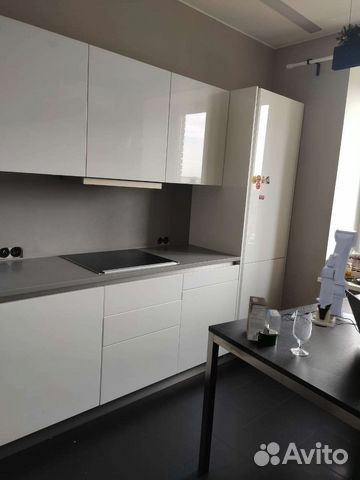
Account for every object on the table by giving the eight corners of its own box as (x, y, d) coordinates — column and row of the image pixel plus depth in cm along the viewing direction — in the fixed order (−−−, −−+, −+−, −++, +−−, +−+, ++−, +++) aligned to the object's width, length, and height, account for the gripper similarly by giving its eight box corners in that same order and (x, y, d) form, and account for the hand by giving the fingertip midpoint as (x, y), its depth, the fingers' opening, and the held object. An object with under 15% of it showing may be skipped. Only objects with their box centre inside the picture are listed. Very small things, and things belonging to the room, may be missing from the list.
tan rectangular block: (316, 319, 176) (317, 308, 175) (329, 322, 173) (330, 311, 172) (315, 321, 174) (316, 309, 173) (328, 324, 171) (330, 312, 170)
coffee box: (245, 330, 157) (249, 295, 154) (260, 332, 157) (264, 297, 154) (247, 339, 148) (251, 302, 145) (262, 341, 148) (267, 304, 145)
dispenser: (312, 317, 179) (313, 311, 178) (335, 322, 174) (336, 317, 173) (309, 321, 173) (310, 315, 173) (333, 327, 168) (334, 321, 167)
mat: (294, 312, 184) (294, 311, 184) (312, 316, 180) (313, 316, 180) (290, 317, 176) (290, 317, 176) (309, 322, 172) (309, 321, 172)
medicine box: (279, 335, 155) (281, 316, 153) (269, 334, 155) (271, 315, 153) (274, 327, 162) (277, 309, 161) (265, 327, 163) (267, 309, 161)
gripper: (320, 286, 179) (316, 311, 181) (315, 293, 167) (311, 320, 169) (335, 289, 176) (331, 315, 178) (331, 296, 163) (327, 324, 166)
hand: (322, 318), depth 173 cm, fingers open, 4 cm apart
